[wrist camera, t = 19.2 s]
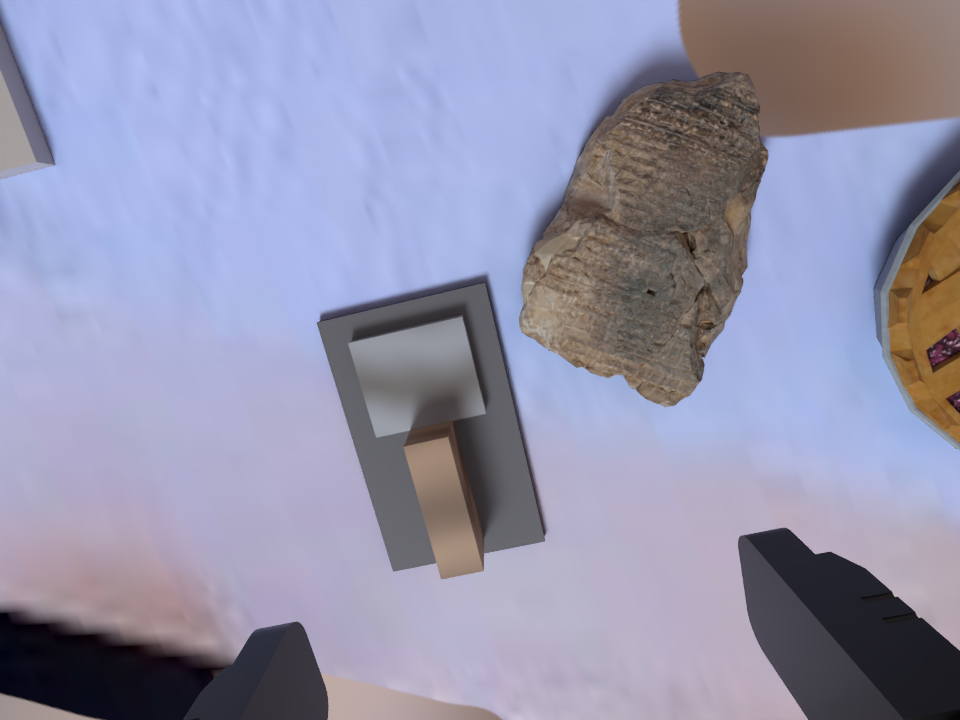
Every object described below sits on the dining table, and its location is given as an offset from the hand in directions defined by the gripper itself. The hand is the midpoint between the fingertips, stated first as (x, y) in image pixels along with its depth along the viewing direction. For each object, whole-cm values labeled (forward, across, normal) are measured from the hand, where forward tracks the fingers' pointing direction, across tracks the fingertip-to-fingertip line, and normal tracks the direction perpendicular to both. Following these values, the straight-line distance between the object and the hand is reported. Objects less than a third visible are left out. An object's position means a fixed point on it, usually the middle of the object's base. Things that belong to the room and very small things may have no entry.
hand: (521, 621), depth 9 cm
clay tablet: (+29, -11, -4) cm, 31 cm away
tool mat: (+28, +6, +6) cm, 29 cm away
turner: (+28, +6, +6) cm, 29 cm away
